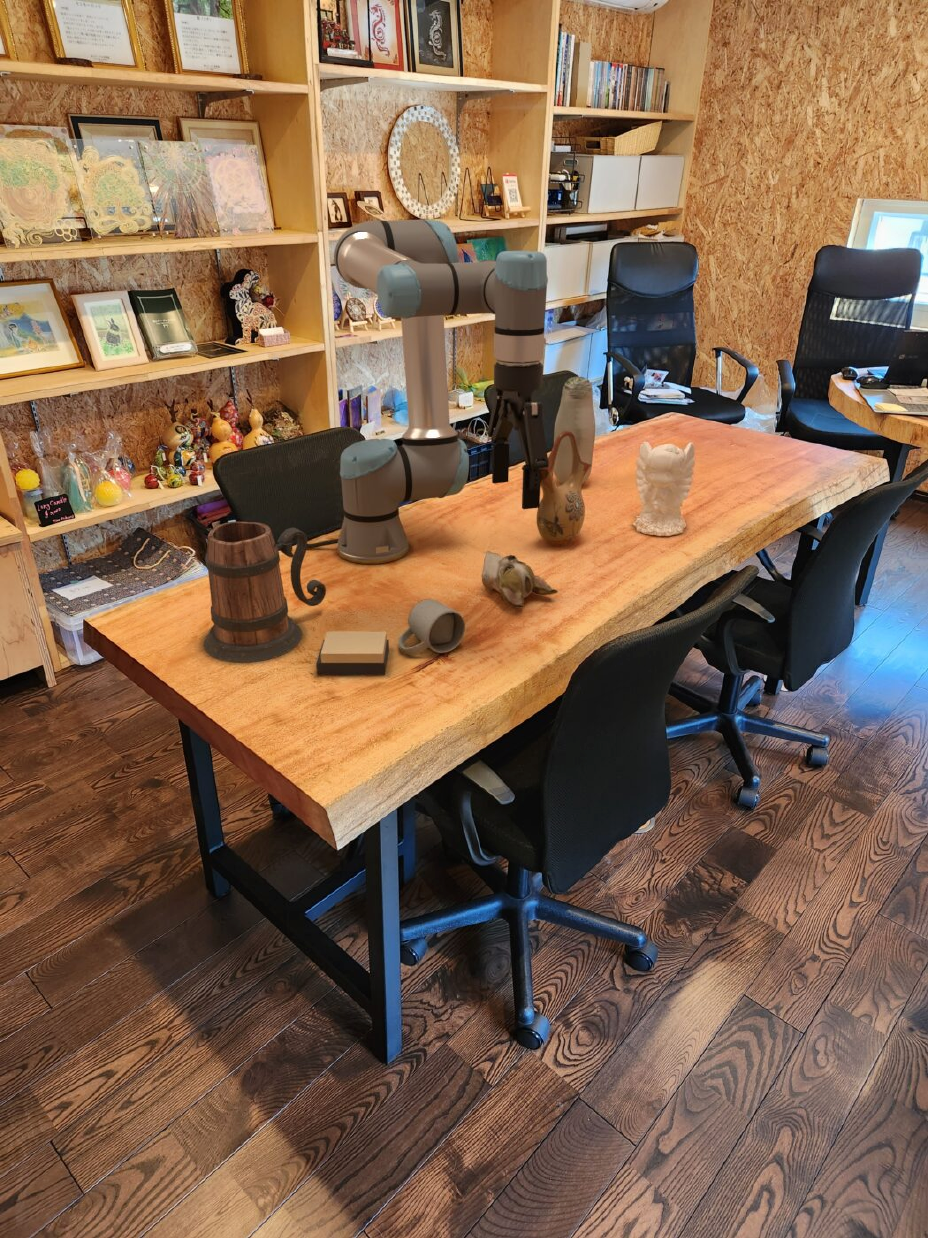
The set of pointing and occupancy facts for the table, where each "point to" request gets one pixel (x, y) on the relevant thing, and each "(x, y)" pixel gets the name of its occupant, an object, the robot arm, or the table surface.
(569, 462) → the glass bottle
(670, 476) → the cherub figurine
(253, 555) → the tankard
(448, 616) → the ceramic mug
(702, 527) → the table surface
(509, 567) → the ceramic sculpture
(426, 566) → the table surface
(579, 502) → the ceramic vessel
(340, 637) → the stone
